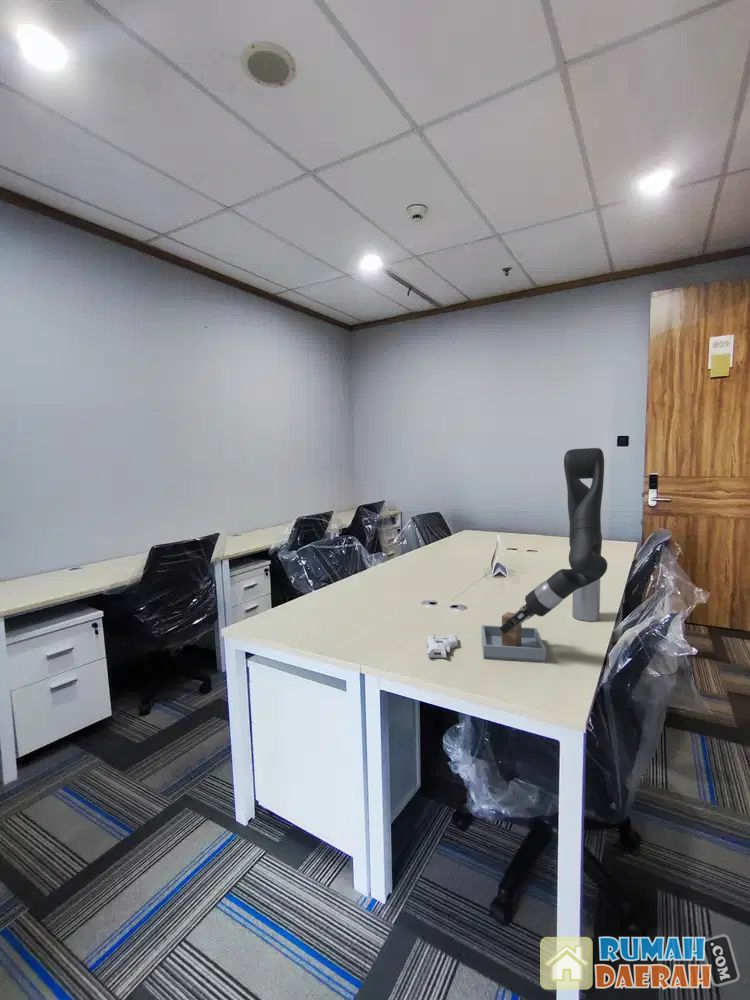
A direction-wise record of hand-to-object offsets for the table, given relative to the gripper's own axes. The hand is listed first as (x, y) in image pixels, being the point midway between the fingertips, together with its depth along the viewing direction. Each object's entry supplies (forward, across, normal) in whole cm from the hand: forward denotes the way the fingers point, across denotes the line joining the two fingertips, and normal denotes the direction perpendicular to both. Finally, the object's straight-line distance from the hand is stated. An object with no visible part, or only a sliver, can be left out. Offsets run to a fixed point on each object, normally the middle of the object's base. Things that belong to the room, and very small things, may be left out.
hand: (507, 626), depth 144 cm
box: (+4, 0, +6) cm, 7 cm away
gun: (+17, +13, -6) cm, 22 cm away
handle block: (+3, 0, +5) cm, 6 cm away
